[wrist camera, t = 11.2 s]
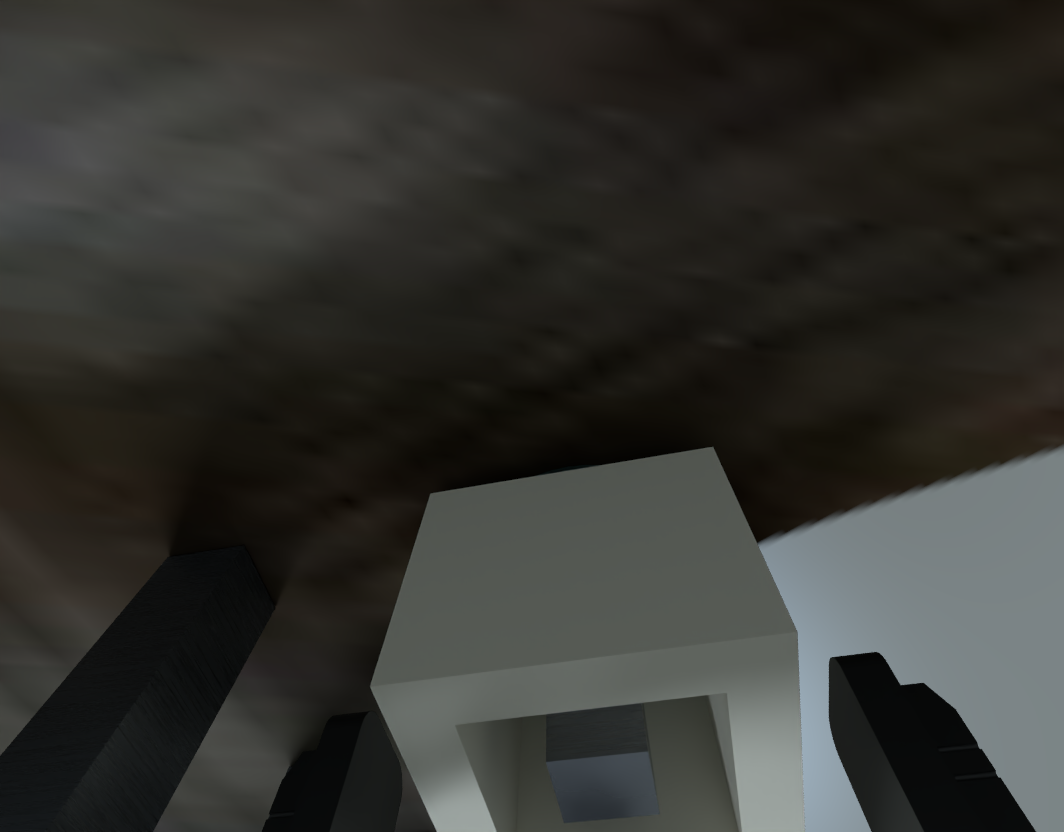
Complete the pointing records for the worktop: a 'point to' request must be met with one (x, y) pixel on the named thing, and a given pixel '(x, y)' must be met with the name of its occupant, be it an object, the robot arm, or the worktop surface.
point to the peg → (600, 758)
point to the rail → (137, 702)
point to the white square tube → (595, 648)
